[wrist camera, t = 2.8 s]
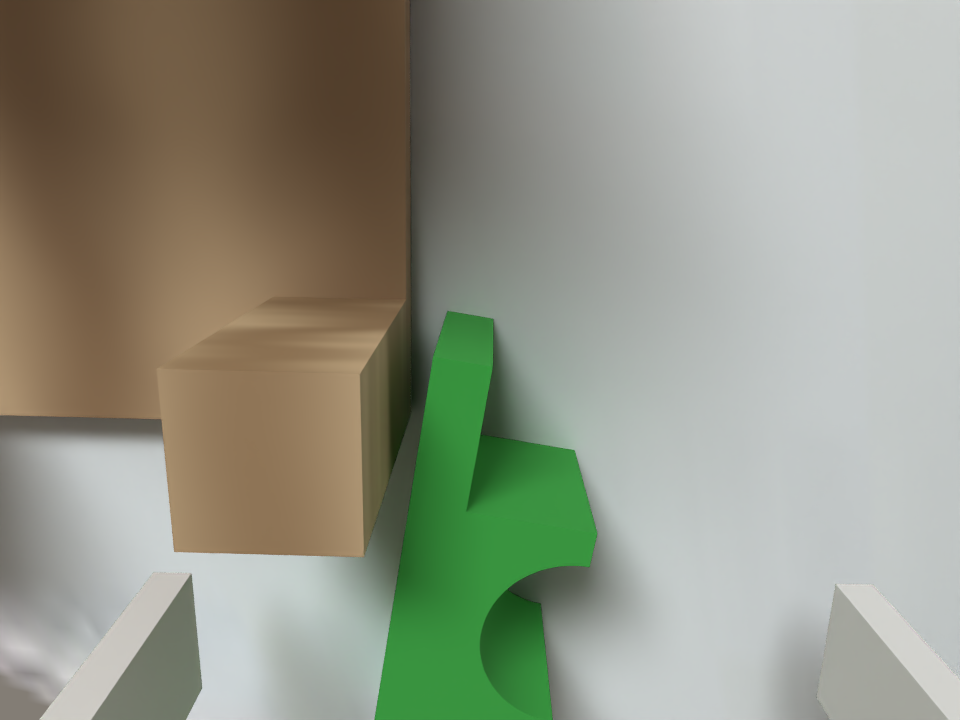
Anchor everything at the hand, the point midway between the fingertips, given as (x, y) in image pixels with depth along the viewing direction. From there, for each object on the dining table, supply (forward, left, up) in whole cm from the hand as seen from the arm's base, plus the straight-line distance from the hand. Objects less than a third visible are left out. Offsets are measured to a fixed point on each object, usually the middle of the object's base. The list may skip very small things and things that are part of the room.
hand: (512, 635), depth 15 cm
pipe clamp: (+1, 0, -5) cm, 5 cm away
